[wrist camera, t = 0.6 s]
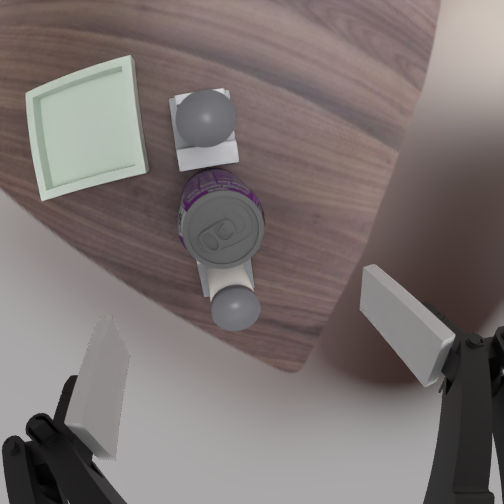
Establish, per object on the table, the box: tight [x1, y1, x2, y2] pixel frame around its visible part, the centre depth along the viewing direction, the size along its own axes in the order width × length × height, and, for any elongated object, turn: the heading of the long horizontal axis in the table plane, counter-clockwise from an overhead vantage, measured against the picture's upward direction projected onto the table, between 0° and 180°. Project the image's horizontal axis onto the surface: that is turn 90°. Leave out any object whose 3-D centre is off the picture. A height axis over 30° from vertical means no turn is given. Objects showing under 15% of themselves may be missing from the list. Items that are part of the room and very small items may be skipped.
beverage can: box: [177, 168, 265, 269], centre depth 27 cm, size 7×7×12 cm
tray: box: [25, 55, 150, 201], centre depth 26 cm, size 13×13×2 cm
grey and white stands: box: [169, 88, 261, 331], centre depth 28 cm, size 24×6×10 cm, turn 7°
